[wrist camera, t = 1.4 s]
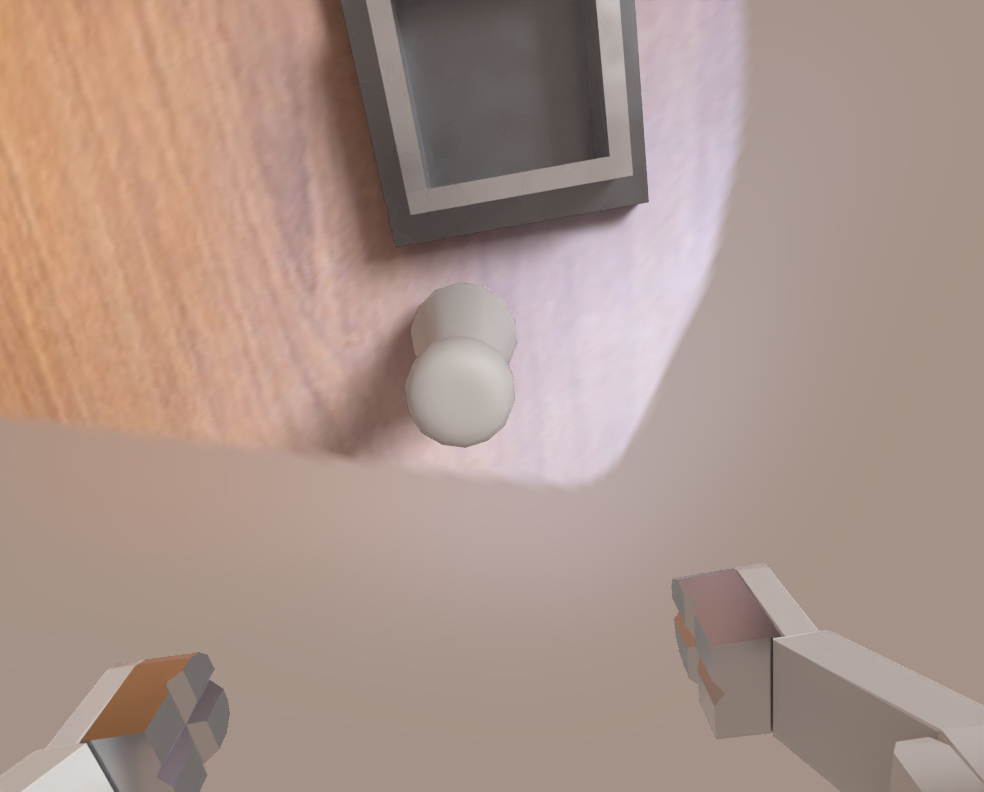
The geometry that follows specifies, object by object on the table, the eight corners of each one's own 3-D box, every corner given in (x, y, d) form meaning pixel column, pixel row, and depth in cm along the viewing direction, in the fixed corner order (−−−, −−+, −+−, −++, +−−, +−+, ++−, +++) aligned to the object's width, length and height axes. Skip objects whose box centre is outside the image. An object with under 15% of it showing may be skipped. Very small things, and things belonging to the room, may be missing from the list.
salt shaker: (492, 386, 34) (502, 492, 22) (403, 354, 34) (362, 447, 21) (528, 296, 33) (560, 359, 20) (434, 261, 32) (409, 304, 20)
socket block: (398, 244, 31) (386, 252, 27) (335, -46, 27) (309, -91, 23) (640, 201, 31) (667, 203, 27) (618, -101, 26) (645, -157, 22)
